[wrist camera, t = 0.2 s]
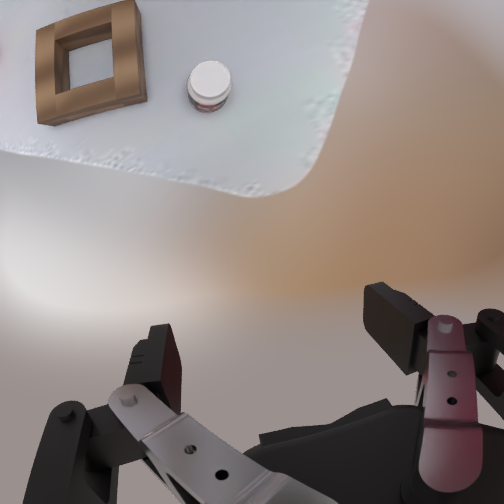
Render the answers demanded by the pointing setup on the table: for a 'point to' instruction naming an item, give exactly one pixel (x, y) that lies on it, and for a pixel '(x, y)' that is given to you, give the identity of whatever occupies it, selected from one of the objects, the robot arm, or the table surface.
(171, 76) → the table surface
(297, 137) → the table surface
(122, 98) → the socket block
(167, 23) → the table surface
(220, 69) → the pill bottle
